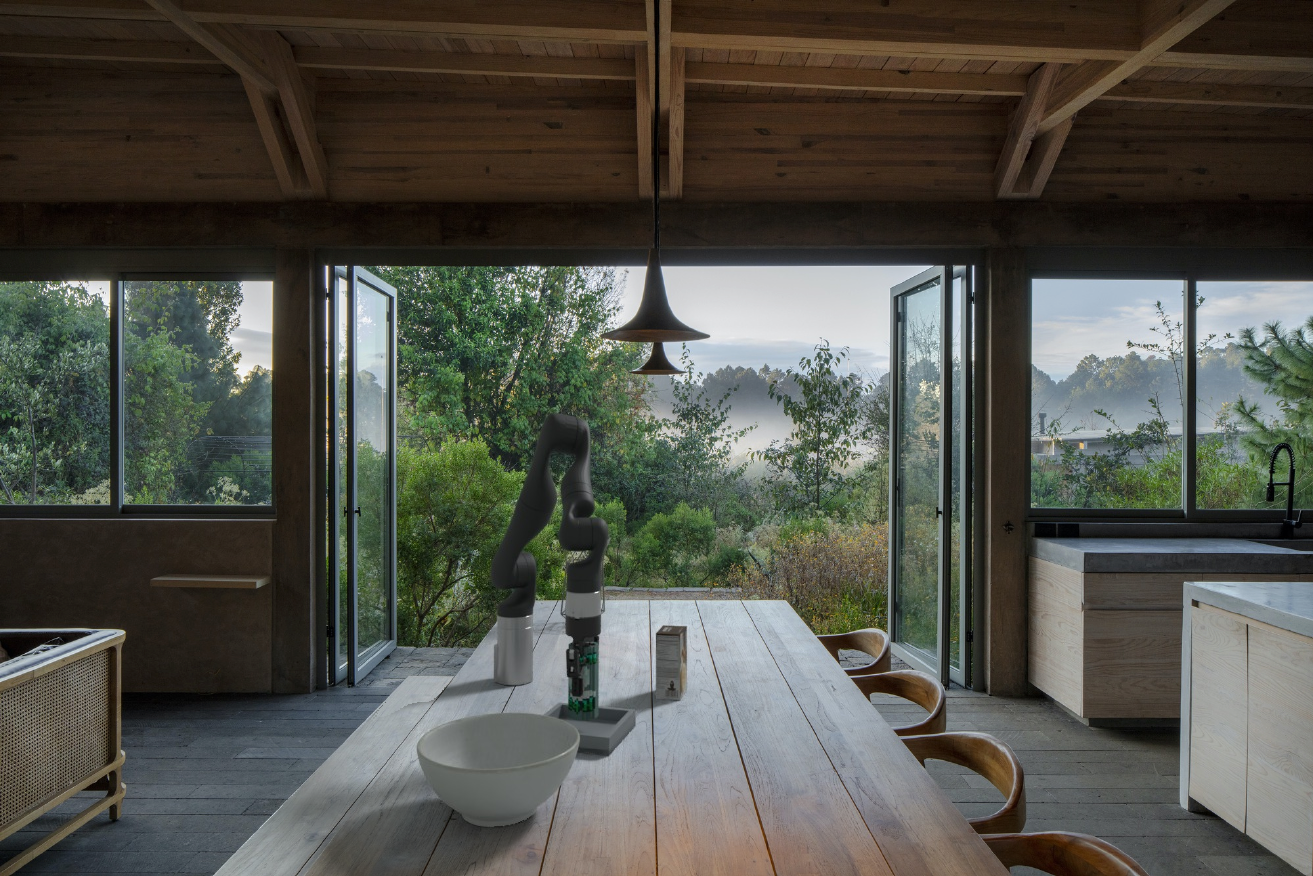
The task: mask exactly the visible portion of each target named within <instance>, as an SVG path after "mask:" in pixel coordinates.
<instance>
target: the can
mask: <svg viewBox="0 0 1313 876" xmlns="http://www.w3.org/2000/svg"><path fill="white" fill-rule="evenodd" d="M572 643H573V641H572V642H570V643H568V648H567V649H572ZM592 643H594V646H591V647H584V655H583V657H582V656H581V657H579V662H580V663H582V662H583V660H584V657H586V656H587V661H586V662H587V666H586V667H585V668H584V673H583V695H582V696H581V697H574V696H572V678H569V677H567V679H568V681H567V682H568V683H567V684H568V687H567V689H568V690H567V691H568V692H567V693H568V694H567V696H568V697H567V699H568V700H567V701H568V702H567V703H568V717H569V718H571V719H573V720H581V721H582V720H589V719H590V720H591V719H595V718H596V717H597V716H599V706H600V703H599V698H600V697H599V693H600V691H599V688H600V687H599V682H600V681H599V680H600V679H599V678H600V672H599V670H600V669H599V668H600V665H599V663H600V662H599V660H600V659H599V658H600V656H599V655H600V650H599V649H600V642H599V643H597V642H594V641H593V642H592ZM575 672H576V668H575Z"/></svg>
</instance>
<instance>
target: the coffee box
mask: <svg viewBox="0 0 1313 876" xmlns="http://www.w3.org/2000/svg"><path fill="white" fill-rule="evenodd" d="M687 633H688V626H687V625H662V626H661V627H660V628H659V629H658V630H657V631H656V633H655V699H656V698H657V700H671V701H681V700H682V698H683V697H684V695H685V693H686V692H687V691H688V685H687V684H688V634H687Z"/></svg>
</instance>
